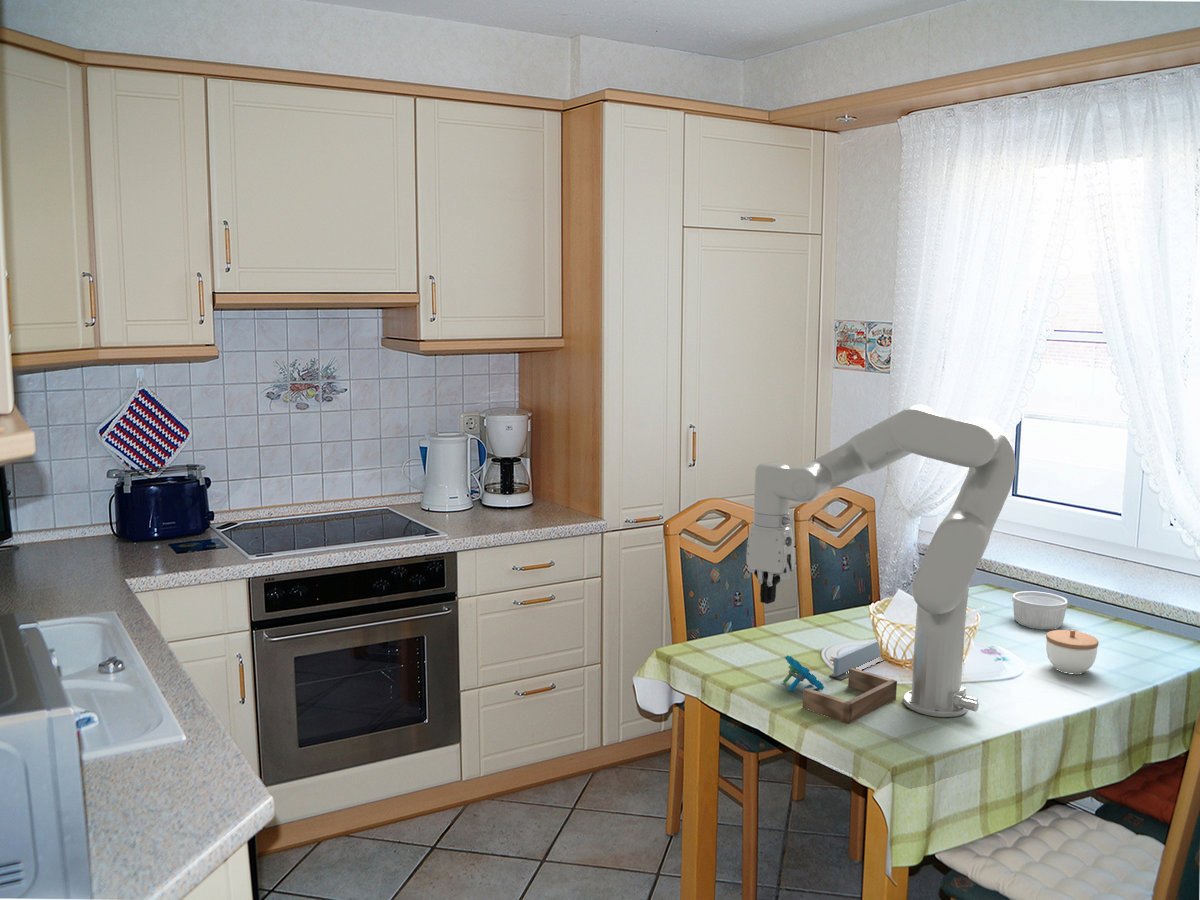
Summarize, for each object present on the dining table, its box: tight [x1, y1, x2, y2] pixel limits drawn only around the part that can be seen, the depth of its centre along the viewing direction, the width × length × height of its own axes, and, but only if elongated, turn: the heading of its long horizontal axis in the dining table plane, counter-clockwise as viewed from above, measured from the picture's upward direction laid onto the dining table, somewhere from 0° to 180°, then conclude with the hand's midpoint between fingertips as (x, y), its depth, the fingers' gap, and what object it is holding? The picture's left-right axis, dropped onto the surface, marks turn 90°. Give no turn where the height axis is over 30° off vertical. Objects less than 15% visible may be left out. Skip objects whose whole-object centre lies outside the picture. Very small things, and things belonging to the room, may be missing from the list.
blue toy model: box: [782, 655, 825, 692], centre depth 215 cm, size 11×6×10 cm
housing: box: [802, 668, 898, 725], centre depth 217 cm, size 17×38×4 cm, turn 134°
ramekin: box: [1011, 590, 1069, 630], centre depth 262 cm, size 13×13×7 cm
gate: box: [832, 638, 881, 676], centre depth 228 cm, size 1×18×4 cm, turn 135°
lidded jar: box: [1045, 629, 1099, 674], centre depth 228 cm, size 11×11×9 cm
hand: (767, 601), depth 221 cm, fingers closed
